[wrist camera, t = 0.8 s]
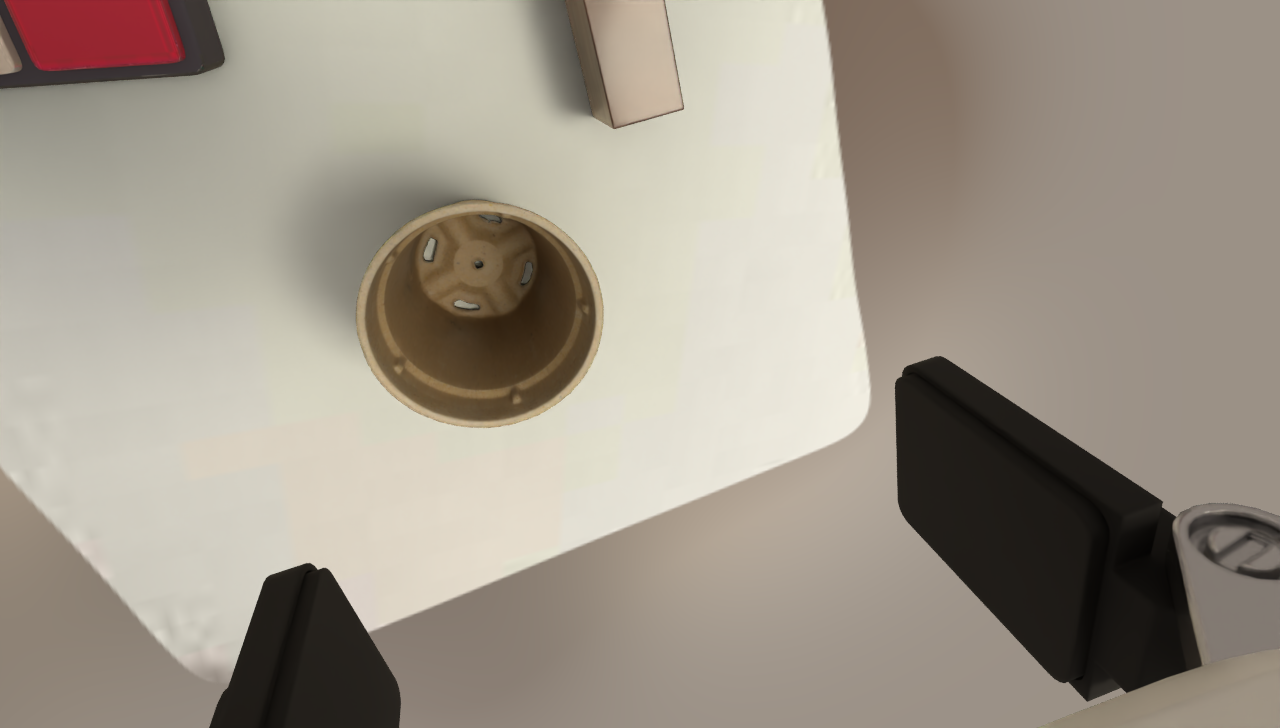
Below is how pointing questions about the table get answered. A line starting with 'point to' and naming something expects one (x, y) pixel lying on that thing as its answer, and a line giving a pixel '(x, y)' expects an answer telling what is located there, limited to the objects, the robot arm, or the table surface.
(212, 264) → the table surface
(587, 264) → the flower pot
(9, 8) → the calculator
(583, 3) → the brown wooden block
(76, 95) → the table surface
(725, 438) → the table surface
